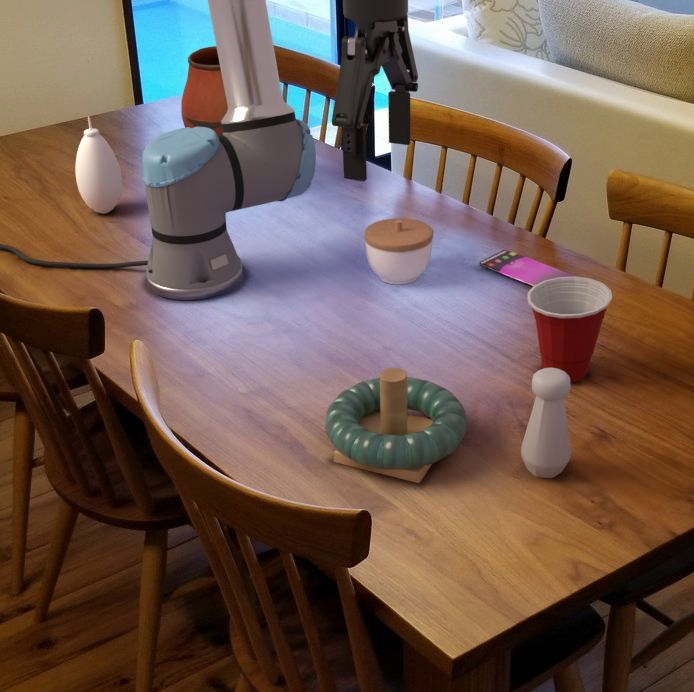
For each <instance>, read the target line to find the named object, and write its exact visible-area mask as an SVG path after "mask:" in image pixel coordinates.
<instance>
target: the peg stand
mask: <svg viewBox="0 0 694 692" xmlns="http://www.w3.org/2000/svg"><path fill="white" fill-rule="evenodd" d="M407 377H408V373H407V371H406V370H404V369H402V368H400V367H388V368H385V369H383V370H381V372H379V378H380V410H379V411H374V412H371V413H370V414H368V415H366V416H364V417H362V418H361V420H360V421H359V424H360V425H361V426H362V427H364V428H365V429H367V430H369V431H371V432H375V433H380V434H384V435H407V434H411V433H415V432H420V431H422V430H424V429H426V428H427V427H429V426H431V424H432V423H433V420H432V419H431V418H426V417H424V416H417V415H413V414H408V409H407ZM333 462H334V463H336V464H341V465H344V466H348V467H352V468H355V469H356V468H357V469H361V470H364V471H369V472H373V473H376V474H381V475H385V476H388V477H393V478H396V479H401V480H404V481H408V482H412V483H416V484H420V483H421V481H422V480H423V478H424V477H425V476H426V474H427V472H428V471H429V469H430V468H431V466H432V465H433V464H430V465H426V466H422V467H417V468H413V469H408V470H383V469H378V468H374V467H370V466H366V465H362V464H358V463H356V462H354V461H352V460H351V459H349V458H348V457H346V456H344V455H343V454H341V453H340V452H338V451H337V450H336V449H335V450H334V451H333Z"/></svg>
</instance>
